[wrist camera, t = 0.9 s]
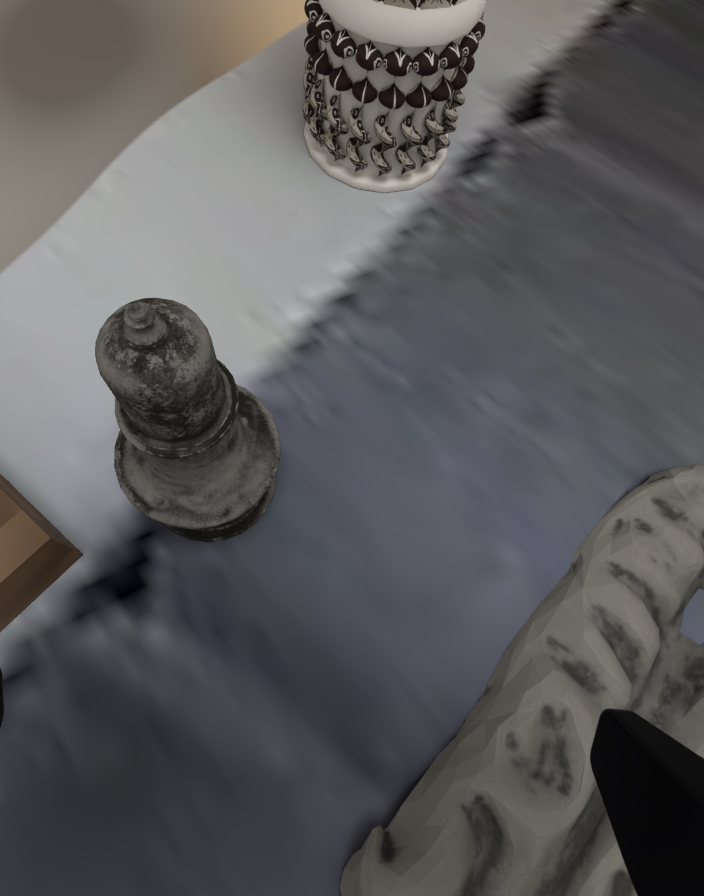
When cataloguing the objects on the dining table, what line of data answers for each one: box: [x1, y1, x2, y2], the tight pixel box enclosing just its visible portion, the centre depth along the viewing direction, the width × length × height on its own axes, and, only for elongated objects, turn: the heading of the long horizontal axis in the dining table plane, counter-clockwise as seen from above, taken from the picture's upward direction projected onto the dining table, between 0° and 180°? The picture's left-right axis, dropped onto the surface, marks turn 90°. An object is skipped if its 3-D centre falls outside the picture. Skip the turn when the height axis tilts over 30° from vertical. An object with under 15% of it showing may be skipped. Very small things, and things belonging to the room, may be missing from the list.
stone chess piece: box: [95, 298, 281, 542], centre depth 17 cm, size 6×6×12 cm
